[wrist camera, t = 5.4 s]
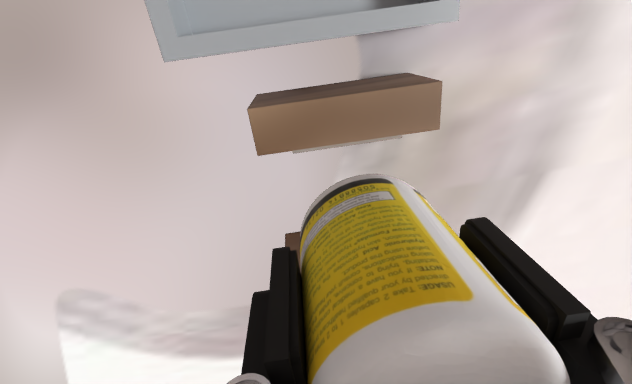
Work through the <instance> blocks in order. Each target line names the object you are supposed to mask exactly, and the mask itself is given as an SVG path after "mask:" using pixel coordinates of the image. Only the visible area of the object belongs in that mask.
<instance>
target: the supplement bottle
mask: <svg viewBox="0 0 632 384" xmlns="http://www.w3.org/2000/svg"><path fill="white" fill-rule="evenodd" d="M300 262H301V280H302V297H303V317H304V335H305V353H306V372H307V384H570V378H569V375H568V372H567V370H566V367H565V365H564V362H563V360H562V359H561V357H560V355H559V353H558V352H557V350H556V349H555V347H554V346H553V345H552V344H551V343H550V341H549V340H548V339H547V338H546V336H545V335H544V334H543V333H542V332H541V330H540V329H539V328H538V326H537V325H536V324H535V323H534V322H533V321H532V319H531V318H530V317H529V316H528V315H527V314H526V313H525V312H524V311H523V310H522V308H521V307H520V306H519V305H518V304H517V303H516V302H515V300H514V299H513V298H512V297H511V296H510V295H509V294H508V293H507V291H506V290H505V289H504V288H503V287H502V286H501V285H500V284H499V283H498V282H497V280H496V279H495V278H494V277H493V275H492V274H491V273H490V272H489V271H488V270H487V269H486V268H485V266H484V265H483V264H482V263H481V262H480V261H479V259H478V258H477V257H476V256H475V255H474V254H473V253H472V252H471V251H470V249H469V248H468V247H467V246H466V245H465V243H464V242H463V241H462V240H461V239H460V238H459V237H458V236H457V235H456V233H455V232H454V231H453V230H452V229H451V227H450V226H449V225H448V224H447V223H446V222H445V221H444V219H443V218H442V217H441V216H440V215H439V214H438V213H437V211H436V210H435V209H434V208H433V207H432V206H431V205H430V204H429V202H428V201H427V200H426V199H425V198H424V197H423V196H422V195H421V194H420V193H419V192H418V191H417V190H416V189H415V188H414V187H412V186H411V185H409V184H408V183H406V182H404V181H402V180H400V179H398V178H395V177H391V176H387V175H381V174H366V175H359V176H354V177H350V178H347V179H344V180H342V181H340V182H338V183H336V184H334V185H332V186H331V187H329V188H328V189H326V190H325V191H324V192H323V193H322V194H320V195H319V197H318V198H317V199H316V200H315V201H314V202H313V203H312V205H311V206H310V208H309V209H308V211H307V213H306V215H305V217H304V220H303V223H302V227H301V233H300Z"/></svg>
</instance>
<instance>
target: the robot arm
mask: <svg viewBox="0 0 632 384" xmlns="http://www.w3.org/2000/svg"><path fill="white" fill-rule="evenodd" d="M459 238H460V239H461V240H462V241H463V242H464V243H465V245H466V246H467V247H468V248H469V249H470V251H471V252H472V253H473V254H474V255H475V256H476V257H477V258H478V259H479V261H480V262H481V263H482V264H483V265H484V266H485V268H486V269H487V270H488V271H489V272H490V273H491V274H492V275H493V277H494V278H495V279H496V280H497V282H498V283H499V284H500V285H501V286H502V287H503V288H504V289H505V290H506V291H507V293H508V294H509V295H510V296H511V297H512V298H513V299H514V300H515V302H516V303H517V304H518V305H519V306H520V307H521V308H522V310H523V311H524V312H525V313H526V314H527V315H528V316H529V317H530V318H531V319H532V321H533V322H534V323H535V324H536V325H537V326H538V328H539V329H540V330H541V332H542V333H543V334H544V335H545V336H546V338H547V339H548V340H549V341H550V343H551V344H552V345H553V346H554V347H555V349H556V350H557V352H558V353H559V355H560V357H561V359H562V360H563V362H564V365H565V367H566V370H567V372H568V375H569V378H570V384H632V320H629V319H624V318H618V317H606V318H602V319H599V320H597V319H596V318H595V317H594V316H593V315H592V314H591V311H590V310H588V309H587V308H586V307H585V306H584V305H583V304H582V303H581V302H580V301H578V300H577V299H576V298H575V297H574V296H573V295H572V294H571V293H570V292H568V291H567V290H566V289H565V288H564V287H563V286H562V285H561V284H560V283H558V282H557V281H556V280H555V279H554V278H553V277H552V276H551V275H550V274H549V273H547V272H546V271H545V270H544V269H543V268H542V267H541V266H540V265H539V264H537V263H536V262H535V261H534V260H533V259H532V258H531V257H530V256H529V255H527V254H526V253H525V252H524V251H523V250H522V249H521V248H520V247H519V246H517V245H516V244H515V243H514V242H513V241H512V240H511V239H510V238H509V237H508V236H506V235H505V234H504V233H503V232H502V231H501V230H500V229H499V228H498V227H496V226H495V225H494V224H493V223H492V222H491V221H490V220H489V219H487V218H486V217H482V218H475V219H468V220H466V222H465V224H464V225H462V226H461V228H460V236H459ZM227 384H307V372H306V353H305V335H304V317H303V297H302V280H301V272H300V267H299V262H298V256H297V251H296V250H291V251H290V247H282V248H275V249H273V251H272V264H271V277H270V290H266V291H260V292H254V294H253V297H252V303H251V310H250V317H249V324H248V331H247V338H246V345H245V352H244V359H243V366H242V373H241V375H240V376H237V377H236V378H234V379H232V380H231V381H229V382H228V383H227Z"/></svg>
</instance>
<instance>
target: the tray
mask: <svg viewBox="0 0 632 384" xmlns="http://www.w3.org/2000/svg"><path fill="white" fill-rule="evenodd" d="M144 1H145V4H146V7H147V10H148V13H149V16H150V20H151V23H152V26H153V29H154V32H155V35H156V38H157V41H158V44H159V47H160V51H161V54H162V57H163V60H164V62H169V61H176V60H183V59H190V58H198V57H205V56H211V55H219V54H226V53H232V52H240V51H247V50H254V49H261V48H269V47H276V46H282V45H290V44H297V43H304V42H311V41H318V40H326V39H332V38H340V37H347V36H354V35H361V34H368V33H375V32H383V31H390V30H397V29H404V28H411V27H418V26H425V25H432V24H439V23H447V22H454V21H459V7H460V0H144Z"/></svg>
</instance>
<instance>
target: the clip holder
mask: <svg viewBox="0 0 632 384" xmlns="http://www.w3.org/2000/svg"><path fill="white" fill-rule="evenodd" d="M441 95H442V81H439V80H435V79H431V78H427V77H423V76H419V75H415V74H410V73H404V74H397V75H390V76H383V77H376V78H369V79H362V80H355V81H348V82H341V83H334V84H327V85H320V86H313V87H307V88H299V89H292V90H285V91H278V92H271V93H264V94H257V95H256V97H255V98H254V100H253V101H252V103H251V104H250V106H249V107H248V109H247V110H248V115H249V119H250V124H251V128H252V133H253V137H254V142H255V146H256V151H257V155H258V156H260V155H266V154H273V153H281V152H288V151H293V153H300V152H308V151H315V150H321V149H327V148H335V147H342V146H349V145H356V144H363V143H369V142H376V141H383V140H390V139H397V138H402V135H404V134H411V133H418V132H425V131H432V130H439V129H440V112H441ZM300 233H301V232H295V233H288V234H285V247H290V251H291V250H296V251H297V256H298V262H299V267H300V272H301V262H300Z"/></svg>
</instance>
